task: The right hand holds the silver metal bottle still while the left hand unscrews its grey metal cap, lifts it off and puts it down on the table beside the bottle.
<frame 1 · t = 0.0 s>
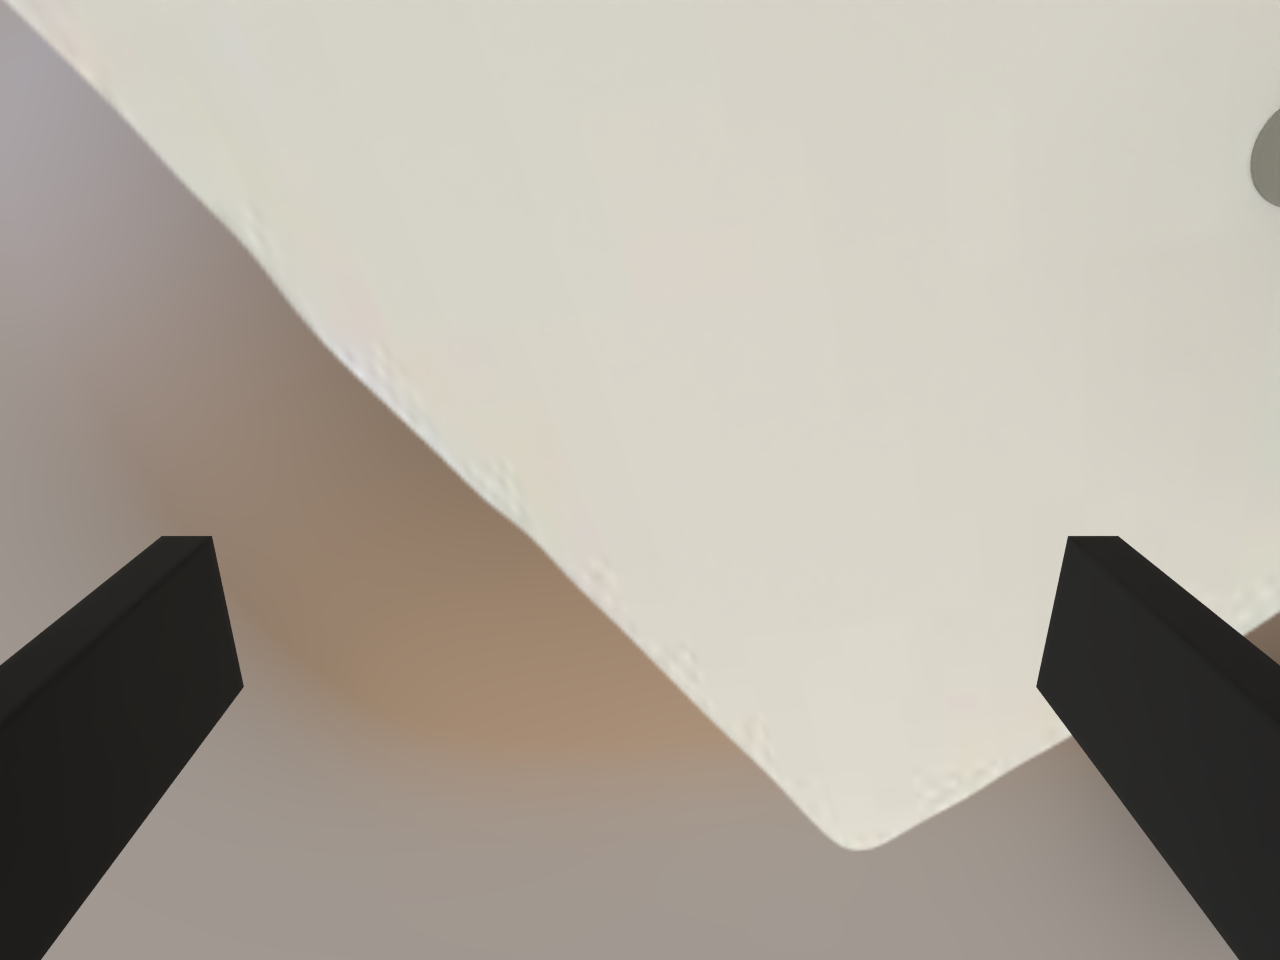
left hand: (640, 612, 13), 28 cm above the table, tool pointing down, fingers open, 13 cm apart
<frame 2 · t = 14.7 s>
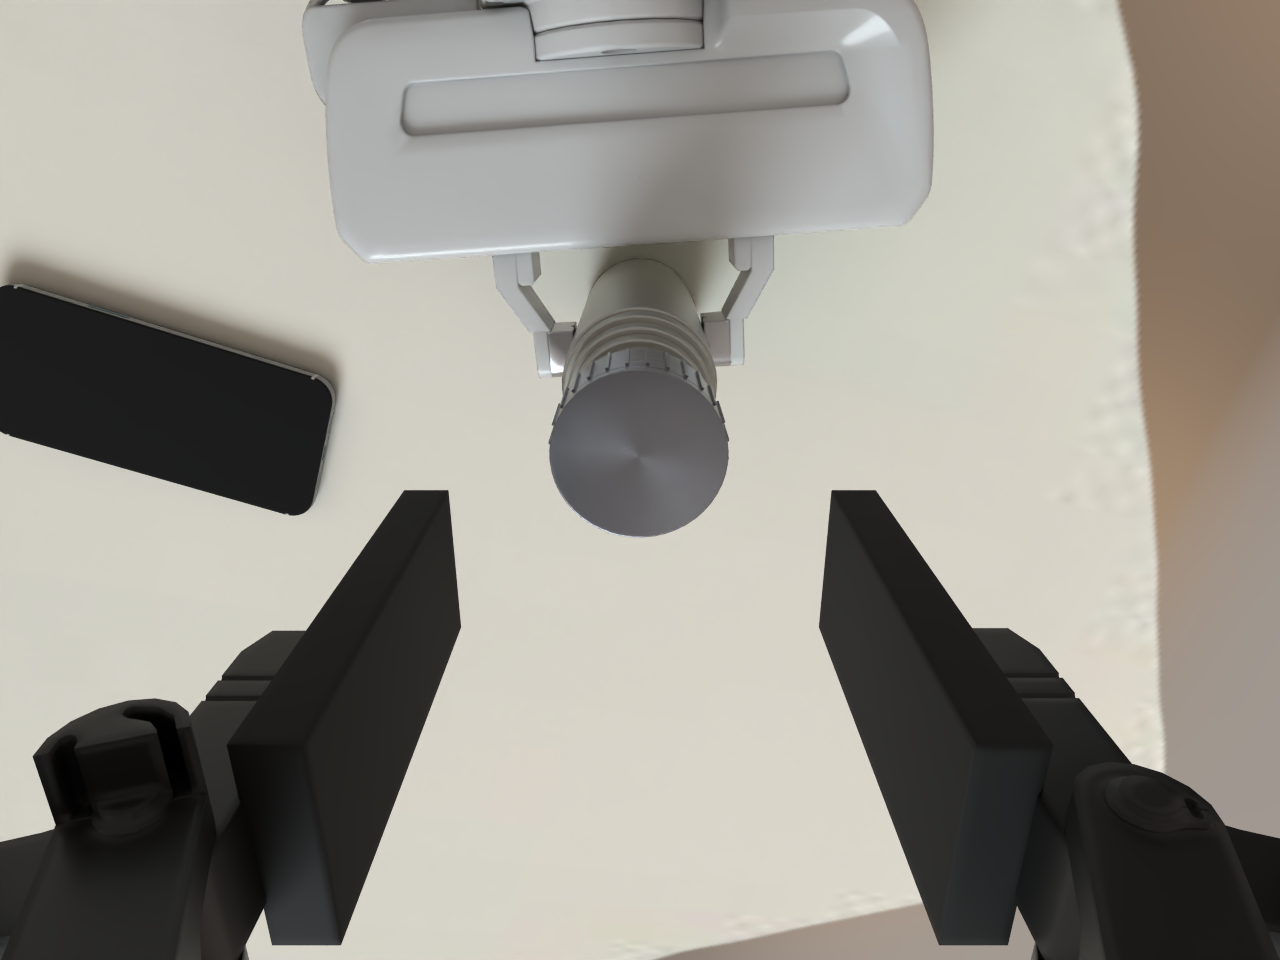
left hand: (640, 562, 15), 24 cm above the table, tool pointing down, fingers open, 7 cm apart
right hand: (642, 368, 31), fingers closed on bottle, 5 cm apart
smartphone: (168, 401, 39), on the table
bottle: (639, 313, 37), on the table, touching right hand
cap: (638, 452, 20), point 18 cm above the table, screwed on, not yet turned
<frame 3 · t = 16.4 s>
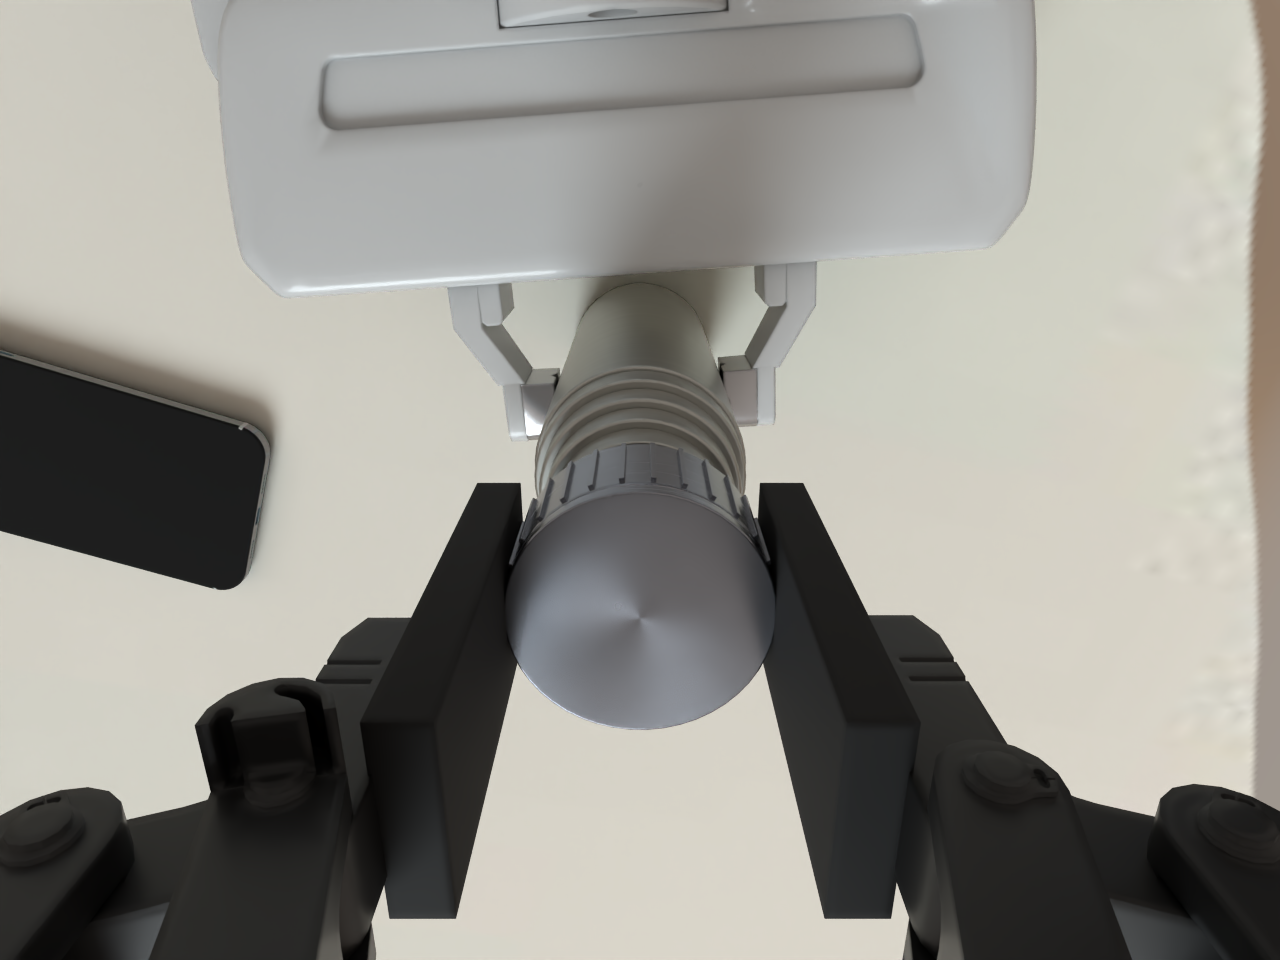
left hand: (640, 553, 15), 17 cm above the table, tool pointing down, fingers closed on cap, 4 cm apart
right hand: (643, 428, 24), fingers closed on bottle, 5 cm apart
smartphone: (68, 454, 32), on the table
bottle: (640, 349, 30), on the table, touching right hand
cap: (640, 608, 13), point 18 cm above the table, screwed on, not yet turned, touching left hand
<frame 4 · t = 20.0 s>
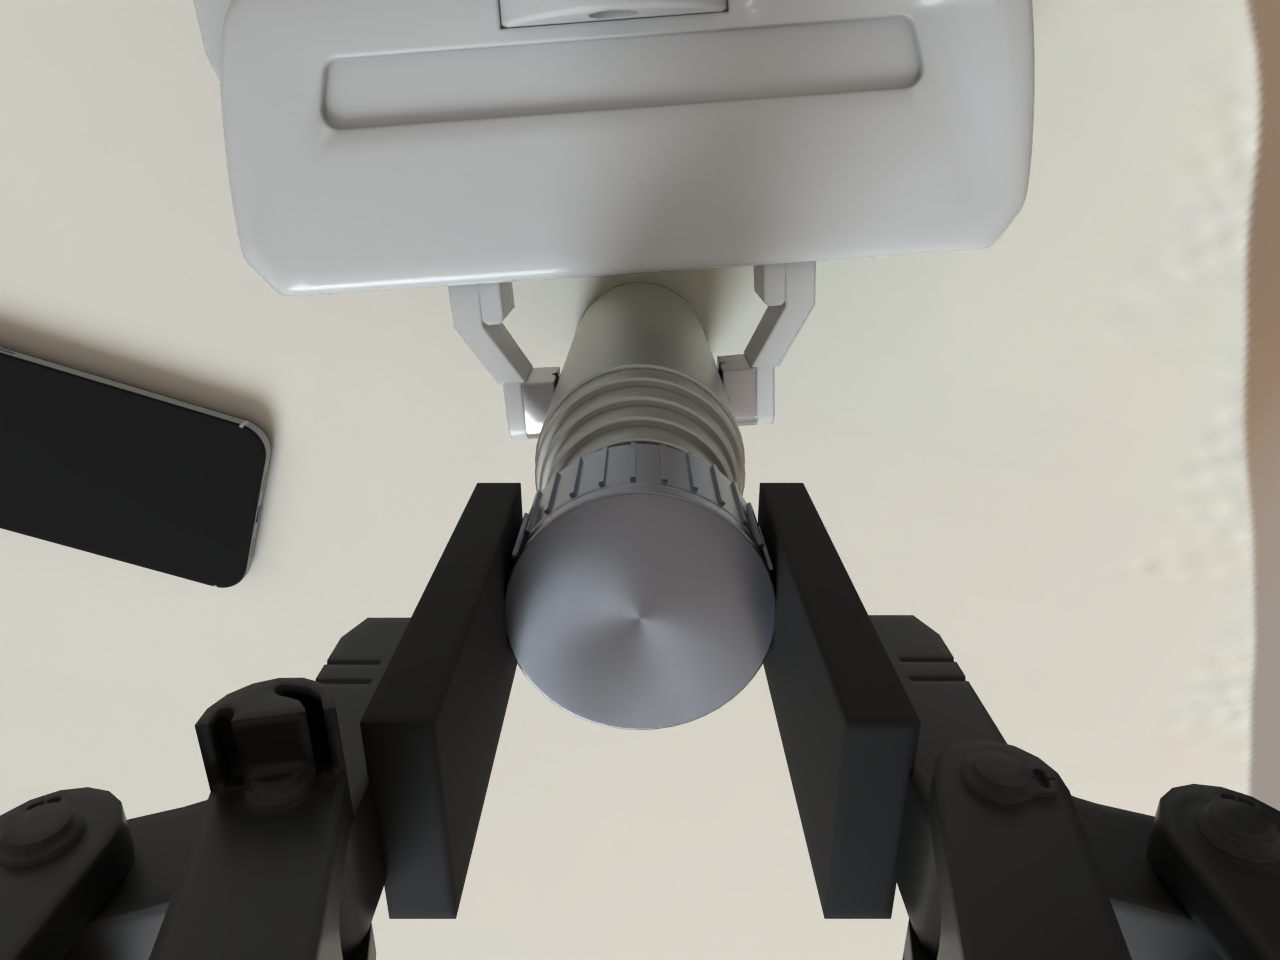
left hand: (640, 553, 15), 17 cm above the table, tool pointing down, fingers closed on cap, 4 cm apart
right hand: (643, 426, 25), fingers closed on bottle, 5 cm apart
smartphone: (69, 452, 32), on the table
bottle: (640, 348, 30), on the table, touching right hand
cap: (640, 608, 13), point 19 cm above the table, turned 124° so far, risen 0.1 cm, still on its thread, touching left hand
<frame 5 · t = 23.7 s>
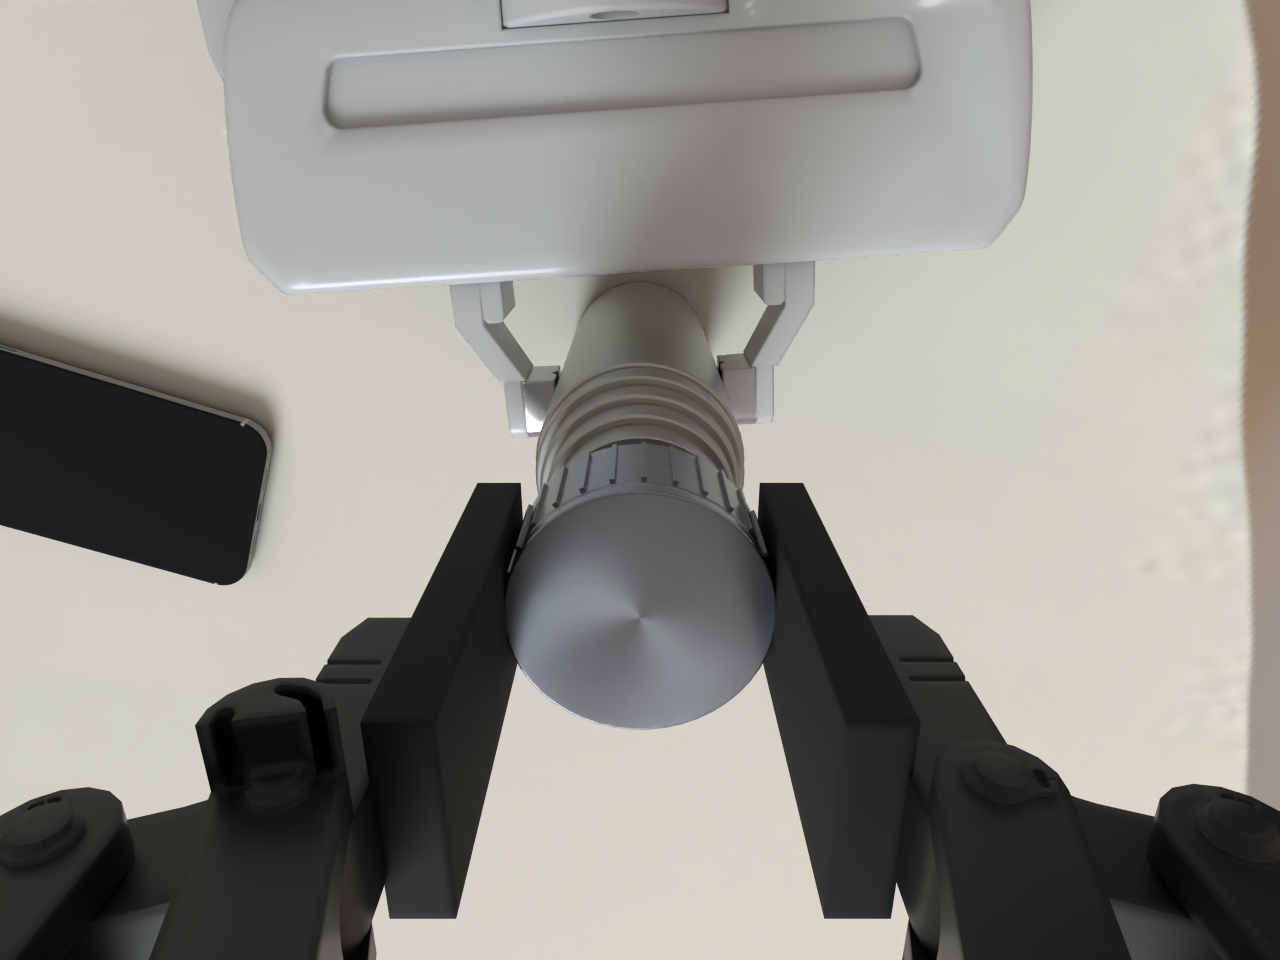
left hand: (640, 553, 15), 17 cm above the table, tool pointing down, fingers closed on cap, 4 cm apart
right hand: (643, 425, 25), fingers closed on bottle, 5 cm apart
smartphone: (70, 450, 32), on the table
bottle: (640, 348, 30), on the table, touching right hand
cap: (640, 608, 13), point 19 cm above the table, turned 248° so far, risen 0.2 cm, still on its thread, touching left hand
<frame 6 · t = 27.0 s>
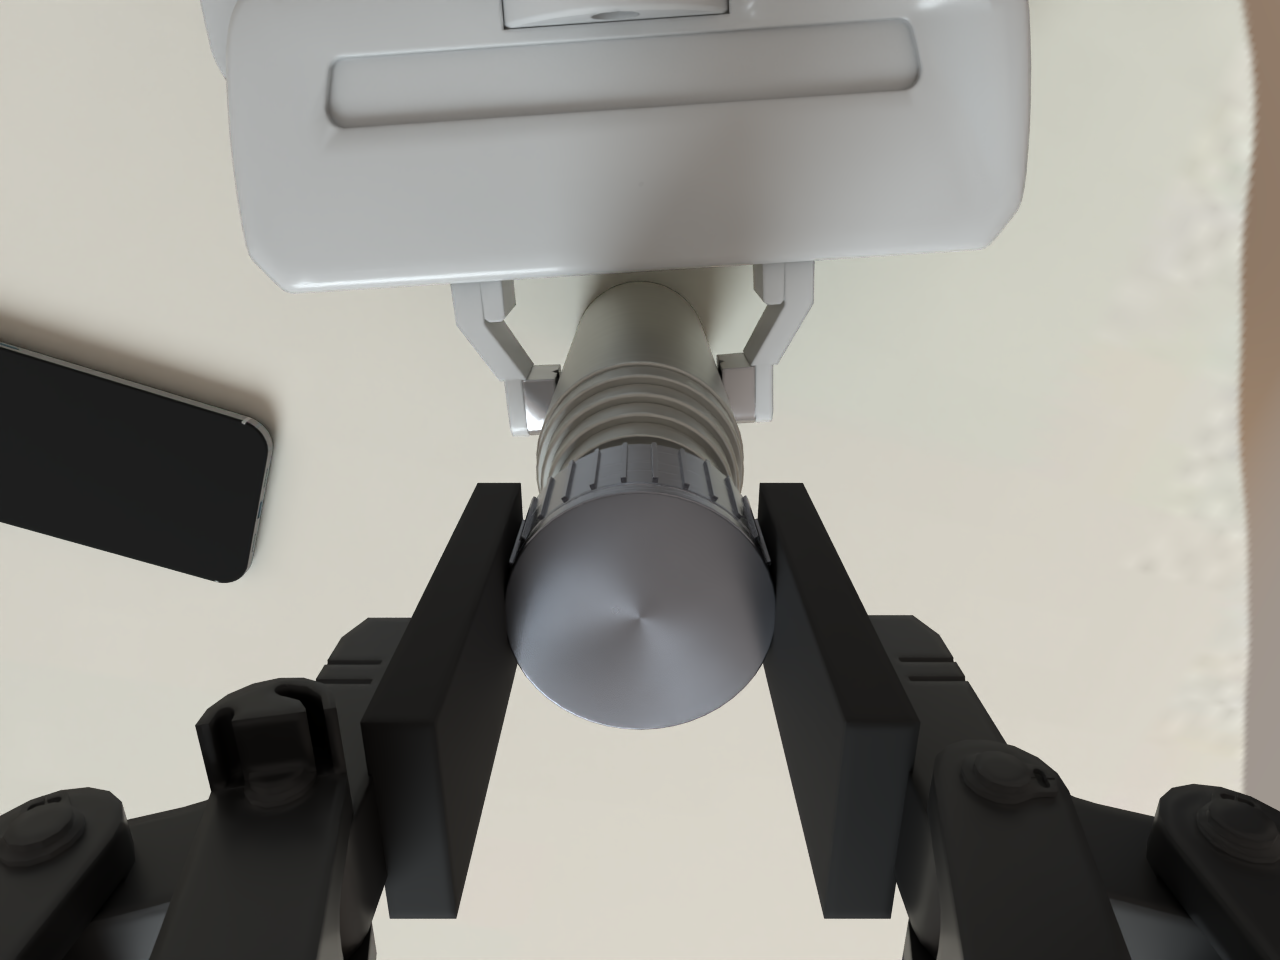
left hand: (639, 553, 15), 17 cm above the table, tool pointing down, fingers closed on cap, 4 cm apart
right hand: (643, 424, 25), fingers closed on bottle, 5 cm apart
smartphone: (72, 447, 32), on the table
bottle: (640, 347, 31), on the table, touching right hand
cap: (640, 608, 13), point 19 cm above the table, turned 372° so far, risen 0.4 cm, still on its thread, touching left hand
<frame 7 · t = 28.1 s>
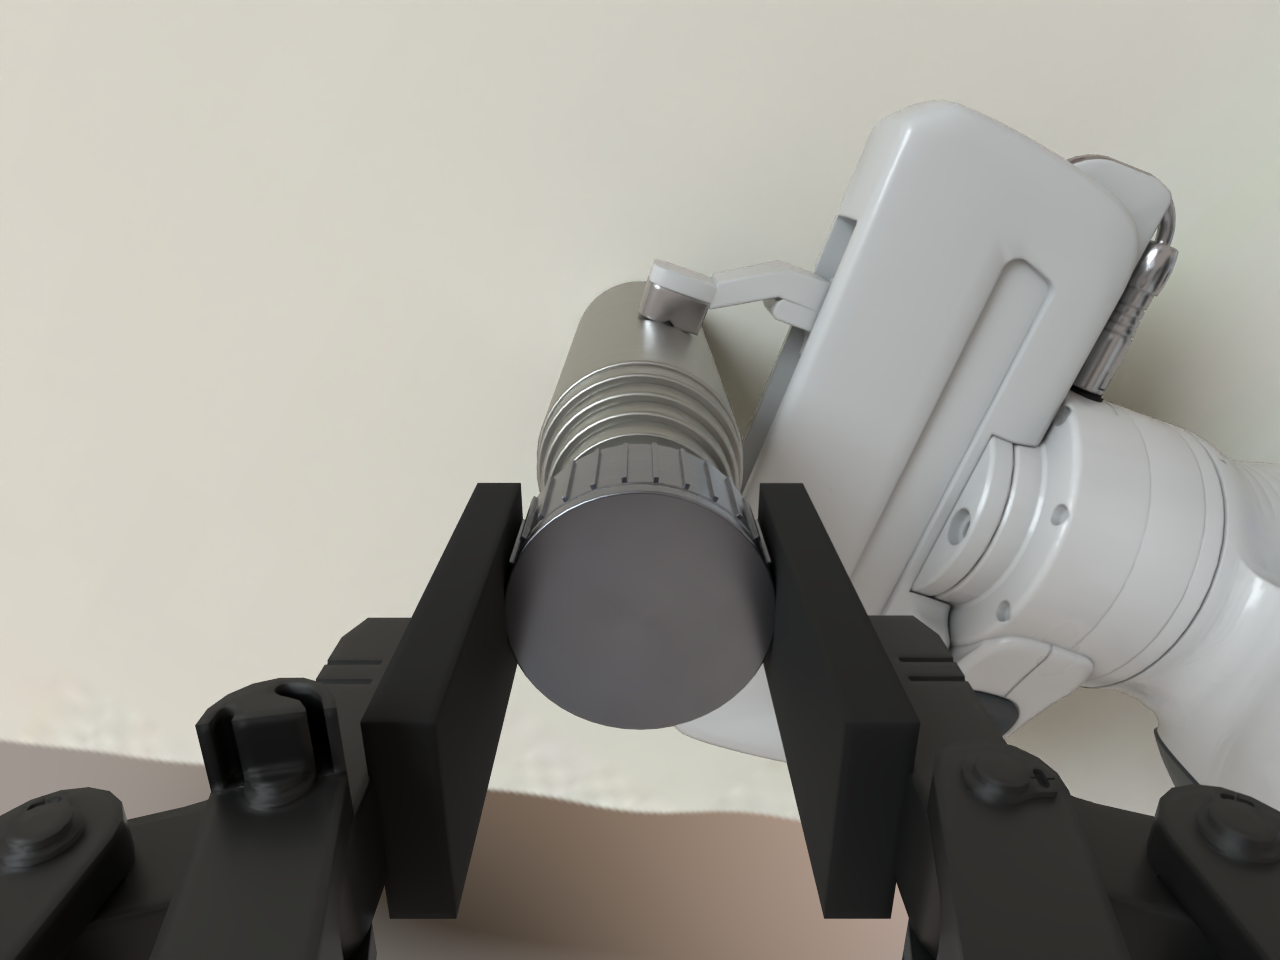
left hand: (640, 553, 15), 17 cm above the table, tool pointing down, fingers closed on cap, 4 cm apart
bottle: (640, 347, 31), on the table, touching right hand
cap: (640, 608, 13), point 19 cm above the table, off its thread, touching left hand
when the left hand's fingers open (2 cm above the table, at t = 34.5 s): cap drops 2 cm, point 2 cm above the table.
when the right hand's fingers open (7 cm above the table, at t = 35.8 s): bottle stays where it is, on the table.
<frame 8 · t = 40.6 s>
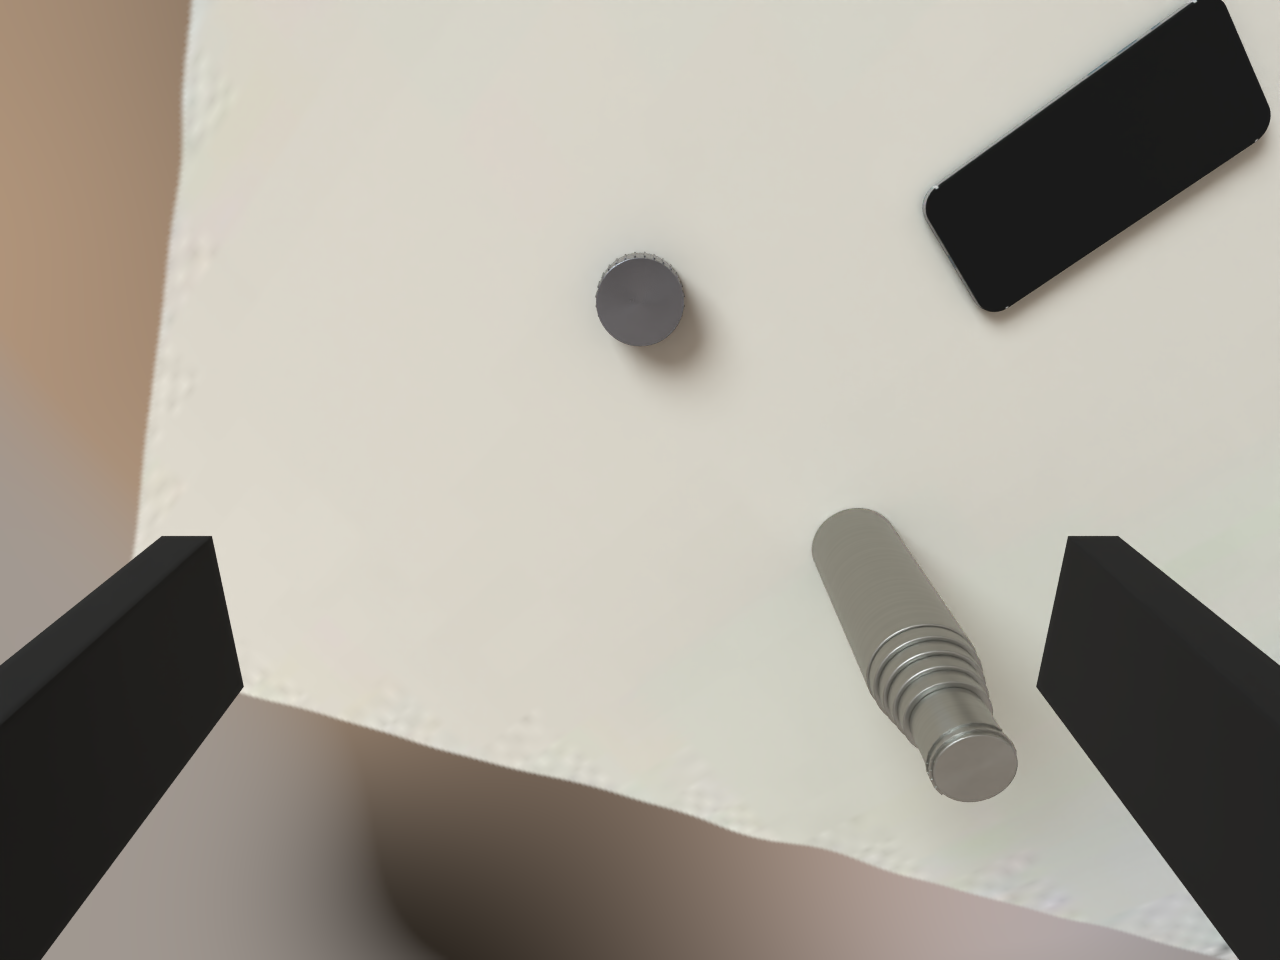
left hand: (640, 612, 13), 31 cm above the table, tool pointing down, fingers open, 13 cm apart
smartphone: (1086, 164, 40), on the table
bottle: (853, 546, 47), on the table
cap: (640, 301, 40), point 2 cm above the table, off its thread
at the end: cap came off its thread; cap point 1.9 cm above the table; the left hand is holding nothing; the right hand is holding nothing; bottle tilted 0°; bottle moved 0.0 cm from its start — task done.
